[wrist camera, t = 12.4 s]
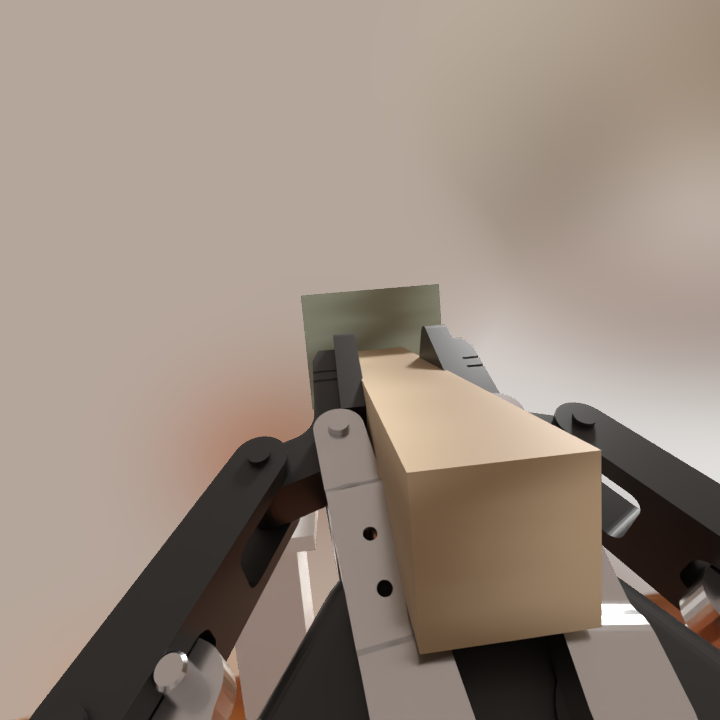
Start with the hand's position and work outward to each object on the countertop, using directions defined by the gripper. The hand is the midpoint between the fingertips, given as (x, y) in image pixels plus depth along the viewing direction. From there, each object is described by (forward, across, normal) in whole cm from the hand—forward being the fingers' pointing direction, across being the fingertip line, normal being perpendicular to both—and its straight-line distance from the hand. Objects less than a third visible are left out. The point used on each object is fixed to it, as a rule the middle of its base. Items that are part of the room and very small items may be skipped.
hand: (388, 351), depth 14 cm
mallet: (-1, 0, -3) cm, 3 cm away
